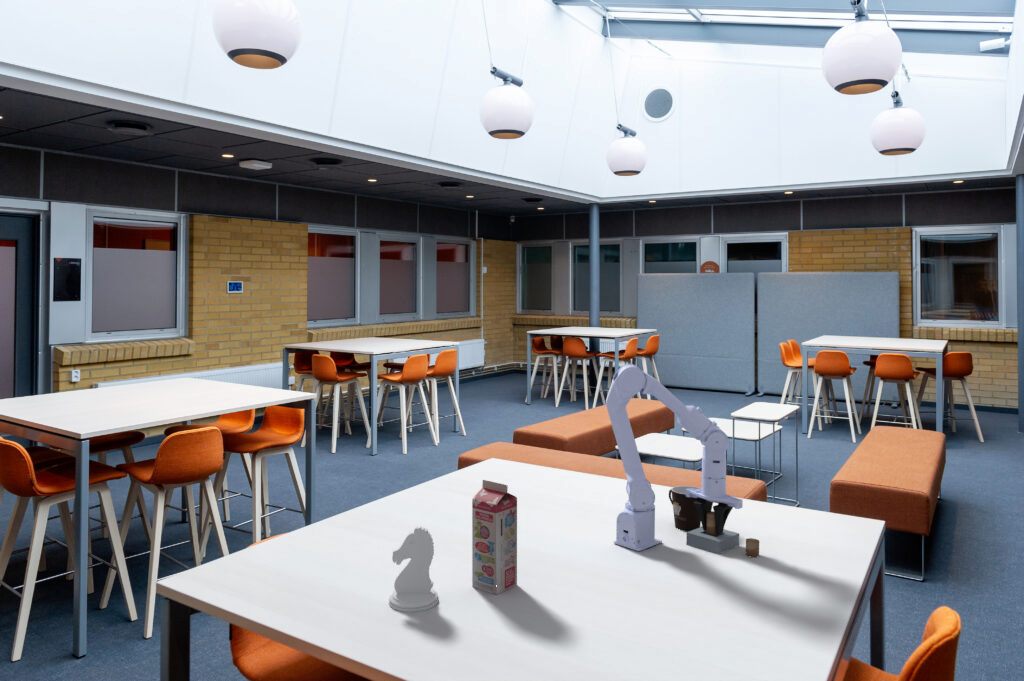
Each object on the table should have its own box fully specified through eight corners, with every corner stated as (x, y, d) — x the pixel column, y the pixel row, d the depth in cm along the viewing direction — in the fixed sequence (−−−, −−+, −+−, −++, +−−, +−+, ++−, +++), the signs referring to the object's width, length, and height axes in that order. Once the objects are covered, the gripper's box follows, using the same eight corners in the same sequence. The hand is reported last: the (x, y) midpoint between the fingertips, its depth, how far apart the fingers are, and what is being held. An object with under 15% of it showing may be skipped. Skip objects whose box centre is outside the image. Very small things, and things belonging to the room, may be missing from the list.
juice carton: (492, 577, 154) (492, 476, 153) (516, 584, 150) (517, 481, 149) (472, 586, 149) (472, 482, 148) (496, 594, 145) (496, 488, 143)
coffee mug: (708, 532, 183) (708, 494, 183) (674, 532, 184) (675, 494, 183) (697, 519, 195) (697, 483, 194) (665, 518, 195) (666, 482, 195)
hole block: (718, 554, 168) (719, 541, 168) (686, 544, 175) (686, 532, 174) (738, 545, 174) (739, 533, 174) (706, 536, 181) (707, 524, 181)
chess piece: (392, 591, 146) (391, 519, 146) (440, 591, 147) (439, 519, 146) (385, 612, 137) (384, 535, 136) (436, 611, 137) (436, 535, 136)
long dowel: (715, 540, 172) (715, 515, 172) (704, 537, 174) (704, 513, 174) (721, 537, 174) (721, 513, 174) (710, 534, 176) (710, 510, 176)
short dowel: (754, 558, 166) (755, 543, 165) (743, 554, 168) (743, 540, 168) (761, 555, 168) (761, 540, 167) (749, 551, 170) (750, 537, 170)
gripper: (749, 479, 171) (748, 534, 171) (697, 468, 181) (696, 521, 182) (734, 484, 166) (732, 541, 167) (681, 473, 177) (680, 526, 177)
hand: (712, 531), depth 174 cm, fingers closed on long dowel, 3 cm apart
